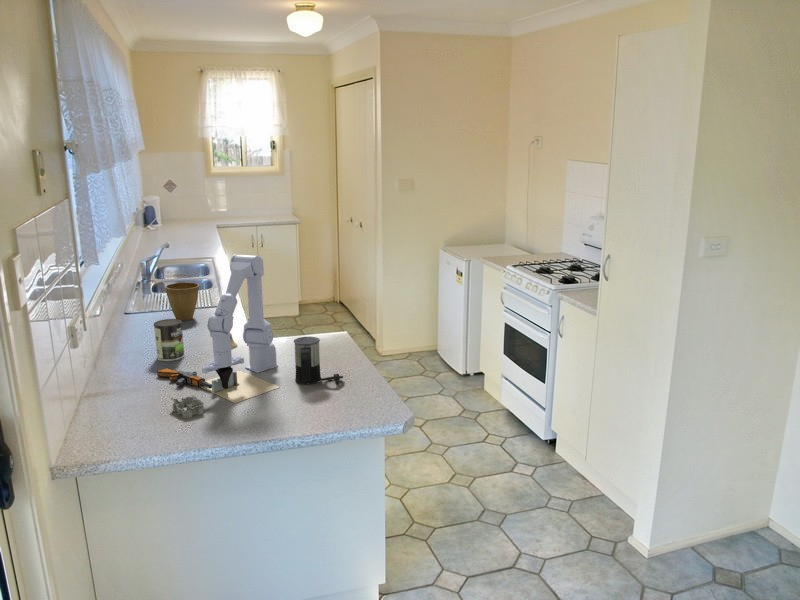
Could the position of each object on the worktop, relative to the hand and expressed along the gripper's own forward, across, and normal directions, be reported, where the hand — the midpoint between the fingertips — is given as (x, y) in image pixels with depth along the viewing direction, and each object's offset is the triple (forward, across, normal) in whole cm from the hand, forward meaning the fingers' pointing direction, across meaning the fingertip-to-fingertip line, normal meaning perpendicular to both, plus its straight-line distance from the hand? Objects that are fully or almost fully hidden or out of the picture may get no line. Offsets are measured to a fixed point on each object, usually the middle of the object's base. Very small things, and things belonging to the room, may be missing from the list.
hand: (225, 388), depth 221 cm
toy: (+2, +5, -17) cm, 18 cm away
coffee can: (+2, -2, -47) cm, 47 cm away
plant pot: (+2, -31, -94) cm, 99 cm away
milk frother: (+2, -29, +13) cm, 32 cm away
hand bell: (+2, -25, -44) cm, 50 cm away
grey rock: (+2, +16, +6) cm, 17 cm away
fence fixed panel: (+1, -5, -8) cm, 10 cm away
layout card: (+2, -6, -2) cm, 6 cm away
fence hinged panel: (+1, -1, -2) cm, 3 cm away
